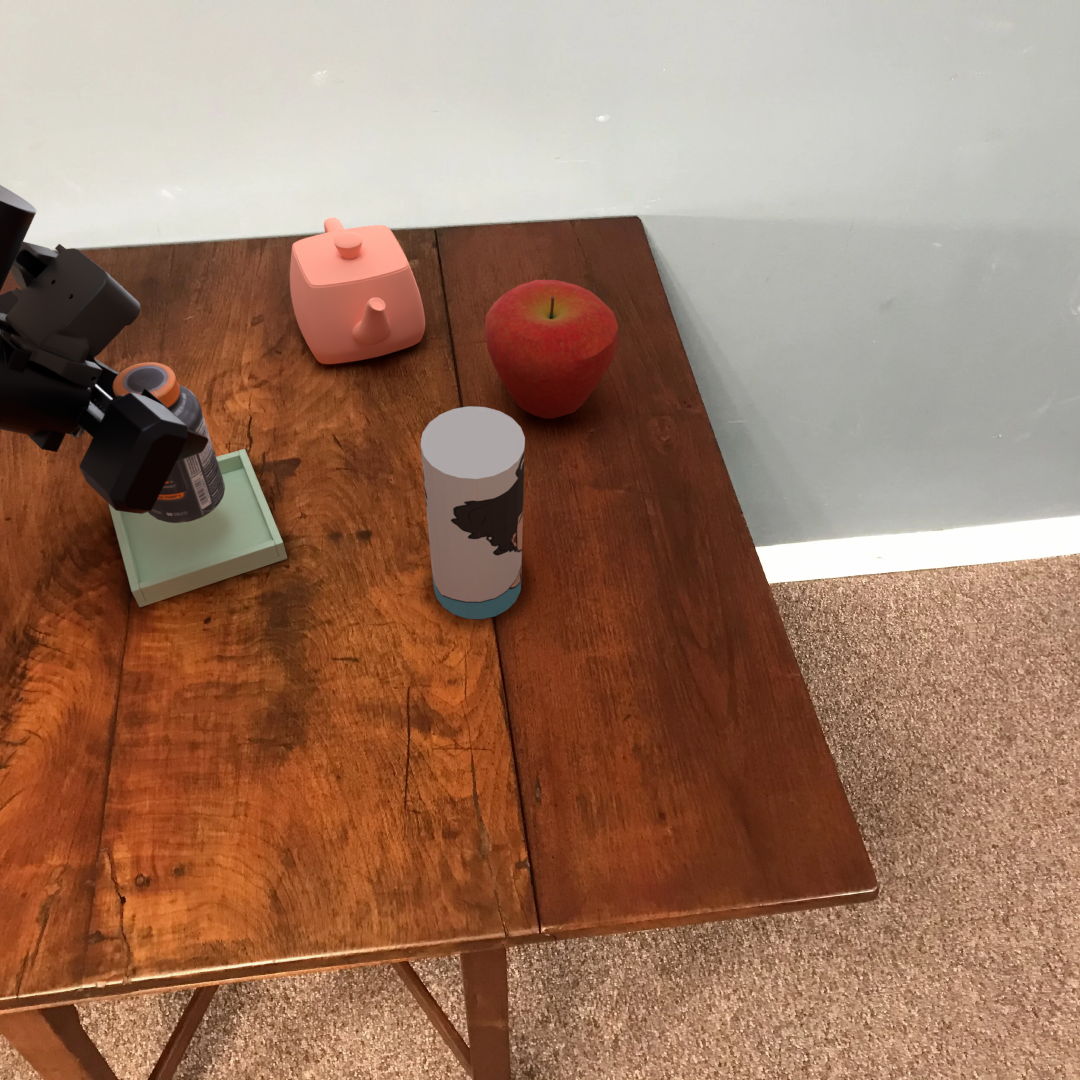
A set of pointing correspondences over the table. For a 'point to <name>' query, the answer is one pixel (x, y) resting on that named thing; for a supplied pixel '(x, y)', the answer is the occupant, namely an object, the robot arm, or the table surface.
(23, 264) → the robot arm
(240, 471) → the dish
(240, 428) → the table surface
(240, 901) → the table surface
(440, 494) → the white cylindrical canister
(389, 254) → the teapot
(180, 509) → the pill bottle
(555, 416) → the apple
